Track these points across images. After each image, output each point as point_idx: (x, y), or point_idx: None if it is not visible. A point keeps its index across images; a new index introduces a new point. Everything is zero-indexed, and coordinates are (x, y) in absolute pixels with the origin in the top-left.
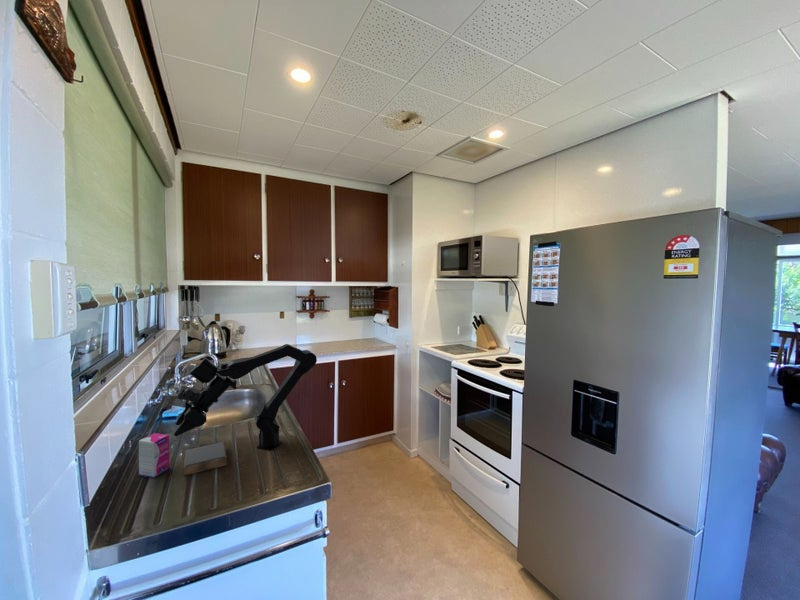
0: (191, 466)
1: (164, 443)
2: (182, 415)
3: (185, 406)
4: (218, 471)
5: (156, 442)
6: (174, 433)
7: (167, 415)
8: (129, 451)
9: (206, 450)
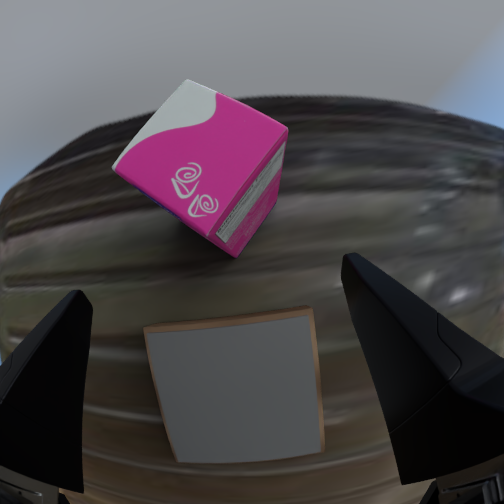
0: (148, 353)
1: (183, 222)
2: (393, 333)
3: (488, 402)
4: (149, 423)
5: (126, 180)
6: (63, 298)
7: None
8: (412, 110)
9: (261, 404)
